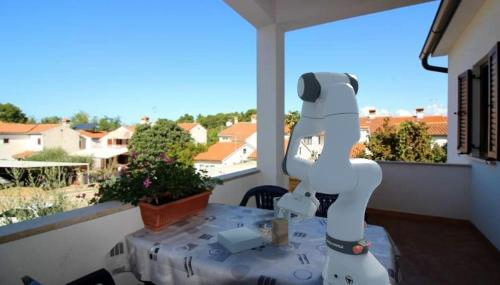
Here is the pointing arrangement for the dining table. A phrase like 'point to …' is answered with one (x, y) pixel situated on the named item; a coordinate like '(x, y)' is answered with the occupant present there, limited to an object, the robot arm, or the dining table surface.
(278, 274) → the dining table surface
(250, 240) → the slate base
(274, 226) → the walnut block
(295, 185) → the coffee package
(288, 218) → the embossed ceramic cup
